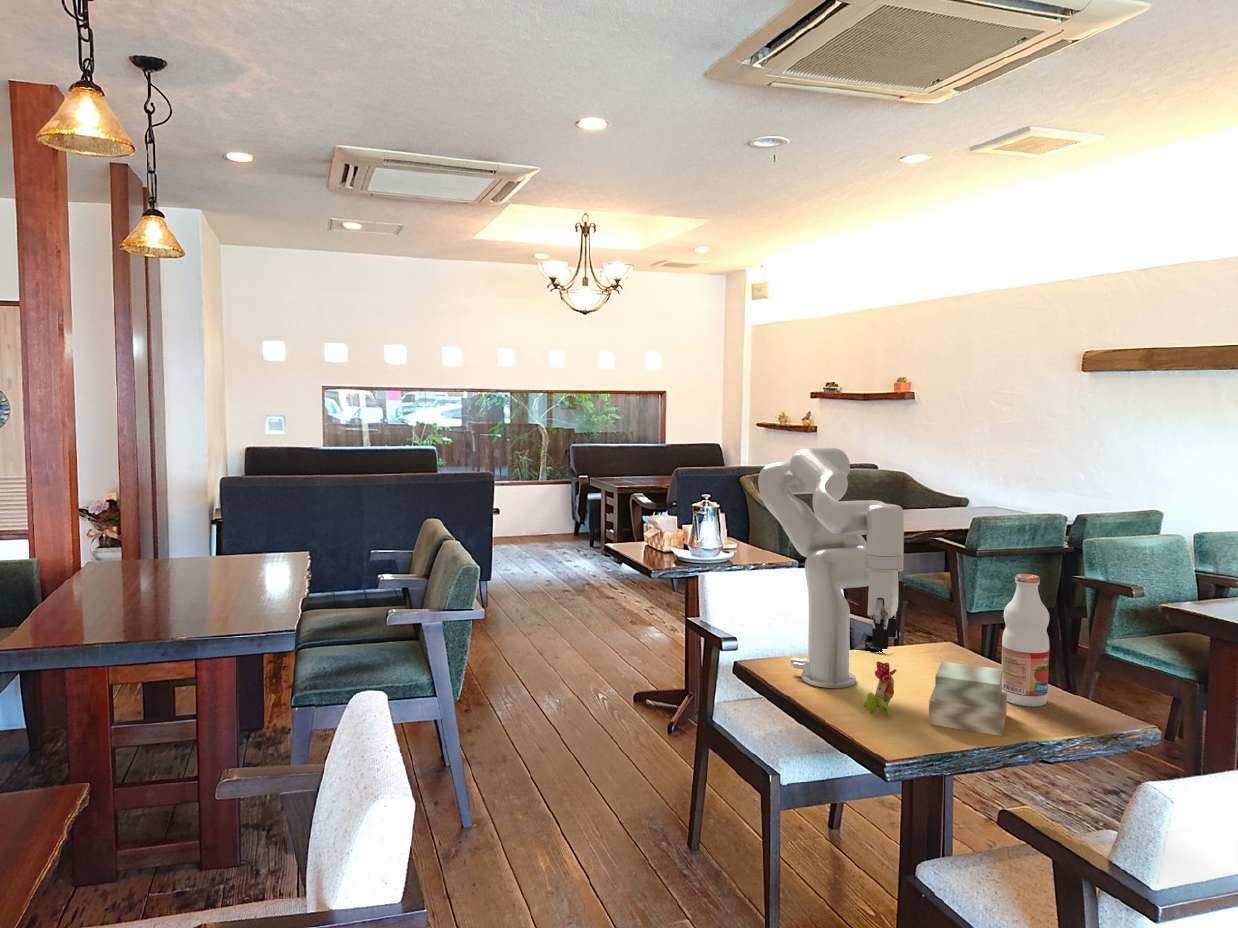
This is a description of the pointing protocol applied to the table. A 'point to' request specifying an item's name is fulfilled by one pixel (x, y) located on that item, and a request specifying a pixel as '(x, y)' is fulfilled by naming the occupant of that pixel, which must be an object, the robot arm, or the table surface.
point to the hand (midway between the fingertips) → (884, 642)
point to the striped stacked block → (968, 699)
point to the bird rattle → (881, 690)
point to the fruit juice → (1025, 645)
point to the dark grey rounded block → (867, 646)
